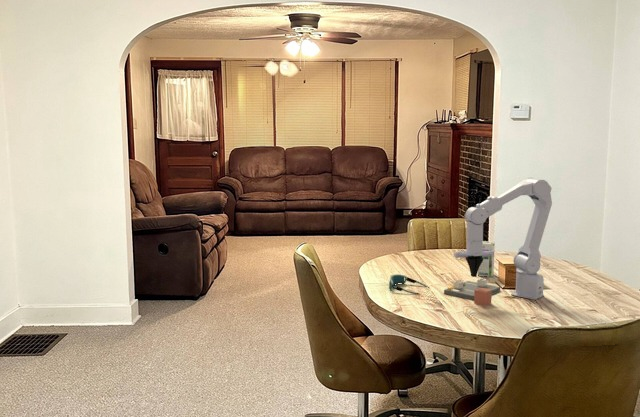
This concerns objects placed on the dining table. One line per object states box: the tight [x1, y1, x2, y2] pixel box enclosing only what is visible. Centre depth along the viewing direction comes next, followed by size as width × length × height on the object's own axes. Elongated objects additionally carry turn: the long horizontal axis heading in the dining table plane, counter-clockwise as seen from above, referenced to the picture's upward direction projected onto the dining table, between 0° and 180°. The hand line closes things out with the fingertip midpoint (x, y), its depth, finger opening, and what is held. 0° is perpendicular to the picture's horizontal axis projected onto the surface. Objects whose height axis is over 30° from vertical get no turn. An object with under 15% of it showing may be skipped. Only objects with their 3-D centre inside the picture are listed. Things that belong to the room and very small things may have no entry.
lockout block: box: [473, 288, 492, 307], centre depth 220 cm, size 4×4×5 cm
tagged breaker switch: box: [452, 279, 464, 289], centre depth 234 cm, size 2×3×3 cm
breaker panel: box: [443, 280, 501, 301], centre depth 234 cm, size 14×18×2 cm
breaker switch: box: [476, 277, 488, 287], centre depth 237 cm, size 2×3×3 cm
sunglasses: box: [388, 273, 430, 295], centre depth 240 cm, size 14×15×5 cm
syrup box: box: [477, 240, 496, 278], centre depth 259 cm, size 6×6×14 cm
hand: (473, 276), depth 225 cm, fingers closed
